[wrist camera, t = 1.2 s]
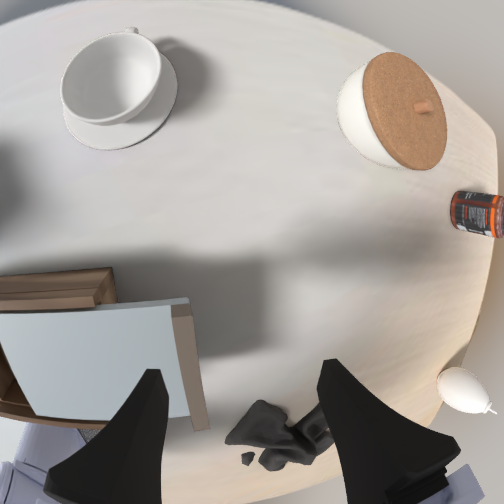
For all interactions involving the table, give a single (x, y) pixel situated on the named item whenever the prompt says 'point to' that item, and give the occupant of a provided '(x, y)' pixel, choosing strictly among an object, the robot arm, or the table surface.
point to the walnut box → (49, 297)
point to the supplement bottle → (478, 213)
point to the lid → (104, 357)
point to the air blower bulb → (463, 391)
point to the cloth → (281, 436)
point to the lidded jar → (393, 114)
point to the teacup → (117, 90)
